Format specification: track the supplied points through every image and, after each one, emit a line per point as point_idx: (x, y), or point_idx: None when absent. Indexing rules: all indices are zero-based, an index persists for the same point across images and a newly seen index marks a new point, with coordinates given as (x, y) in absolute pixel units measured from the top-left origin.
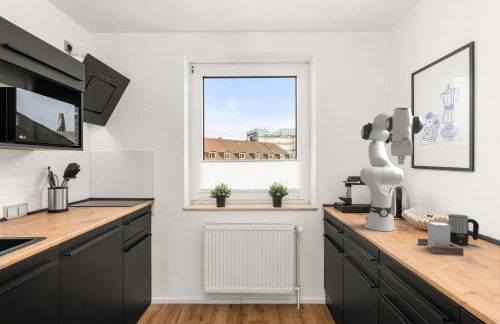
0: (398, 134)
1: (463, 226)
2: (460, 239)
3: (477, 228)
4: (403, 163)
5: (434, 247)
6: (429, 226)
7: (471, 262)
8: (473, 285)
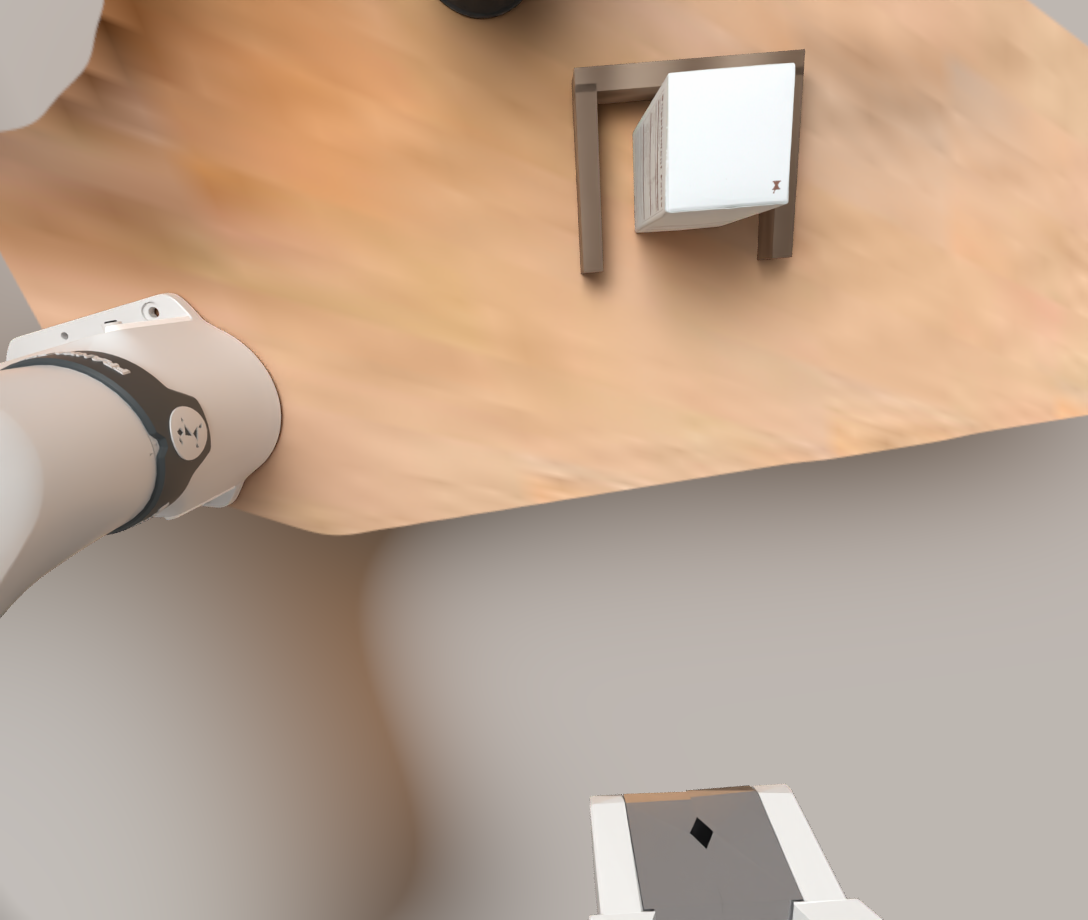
0: None
1: None
2: None
3: None
4: (795, 813)
5: (790, 245)
6: (689, 216)
7: (927, 95)
8: None
